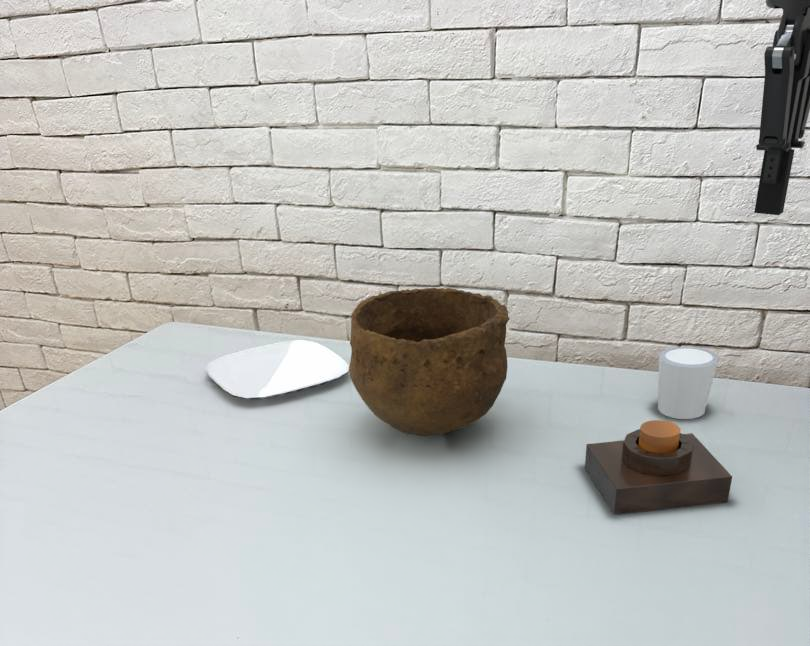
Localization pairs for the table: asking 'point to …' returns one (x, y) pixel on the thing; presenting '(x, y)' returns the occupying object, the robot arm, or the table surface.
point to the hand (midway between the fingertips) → (768, 212)
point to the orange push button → (659, 436)
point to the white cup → (685, 381)
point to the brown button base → (656, 475)
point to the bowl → (429, 357)
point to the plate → (276, 369)
